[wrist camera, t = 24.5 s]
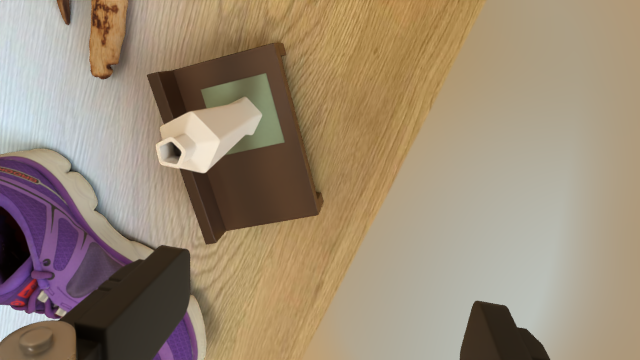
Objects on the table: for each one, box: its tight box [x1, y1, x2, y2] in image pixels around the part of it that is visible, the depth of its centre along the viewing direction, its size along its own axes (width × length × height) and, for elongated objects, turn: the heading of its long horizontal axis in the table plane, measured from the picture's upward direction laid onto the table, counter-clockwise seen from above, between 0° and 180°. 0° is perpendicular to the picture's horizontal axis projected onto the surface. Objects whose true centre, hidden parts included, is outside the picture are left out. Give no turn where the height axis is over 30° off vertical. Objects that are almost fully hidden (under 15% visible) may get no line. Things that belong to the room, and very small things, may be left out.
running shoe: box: [0, 149, 207, 360], centre depth 47 cm, size 14×35×15 cm, turn 42°
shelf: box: [147, 43, 323, 244], centre depth 43 cm, size 12×18×7 cm, turn 14°
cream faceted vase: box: [156, 97, 262, 173], centre depth 34 cm, size 5×4×15 cm
